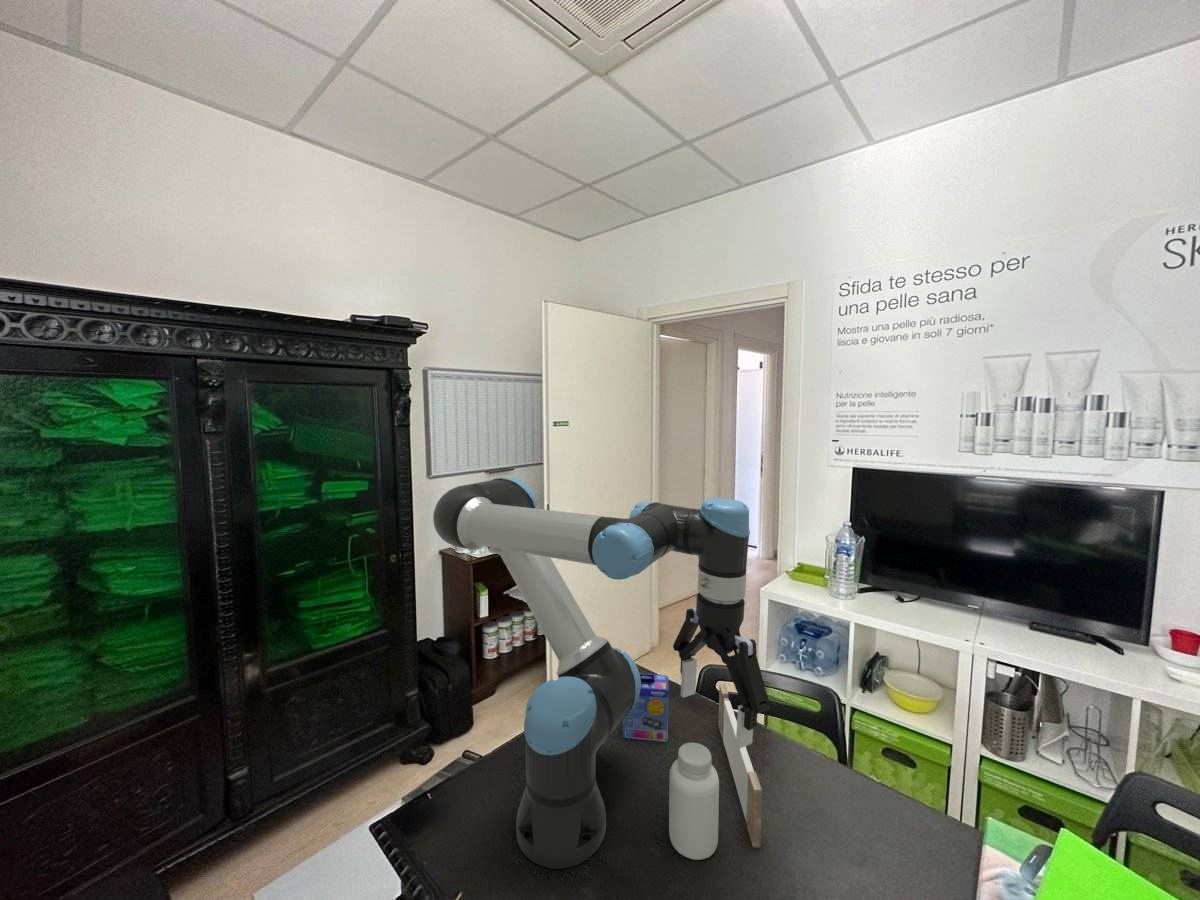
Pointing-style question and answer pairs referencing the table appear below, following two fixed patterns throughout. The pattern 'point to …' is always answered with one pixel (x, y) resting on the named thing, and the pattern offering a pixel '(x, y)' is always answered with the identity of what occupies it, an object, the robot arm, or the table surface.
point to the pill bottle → (694, 802)
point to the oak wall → (753, 785)
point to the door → (736, 755)
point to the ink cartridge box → (649, 711)
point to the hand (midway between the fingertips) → (713, 717)
